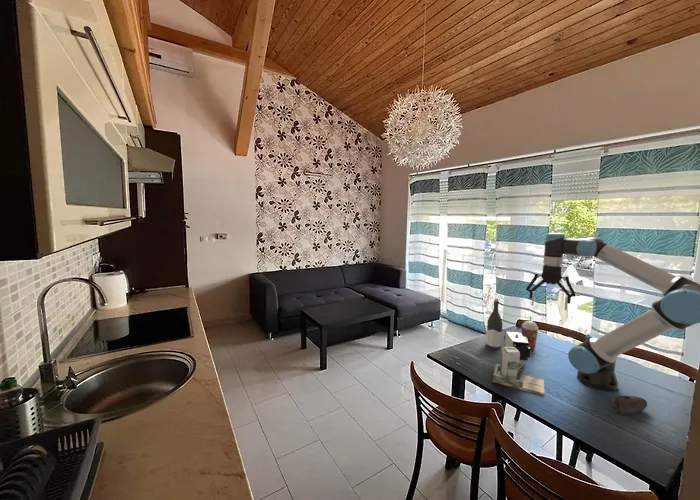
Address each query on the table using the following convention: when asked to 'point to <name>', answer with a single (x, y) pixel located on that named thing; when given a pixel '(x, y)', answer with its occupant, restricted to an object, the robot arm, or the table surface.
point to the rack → (520, 381)
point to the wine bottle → (494, 328)
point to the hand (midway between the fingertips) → (548, 307)
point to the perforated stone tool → (629, 404)
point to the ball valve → (518, 345)
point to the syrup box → (510, 362)
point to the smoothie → (530, 332)
